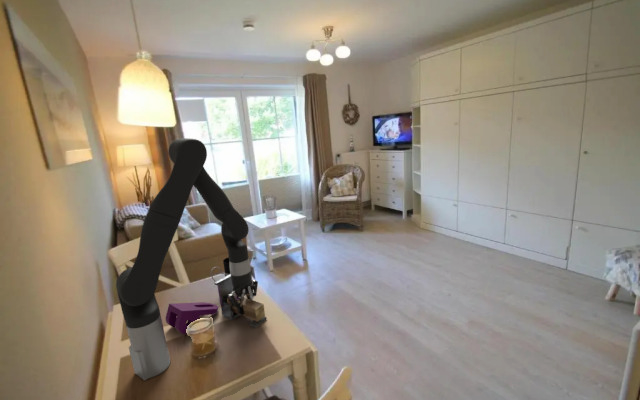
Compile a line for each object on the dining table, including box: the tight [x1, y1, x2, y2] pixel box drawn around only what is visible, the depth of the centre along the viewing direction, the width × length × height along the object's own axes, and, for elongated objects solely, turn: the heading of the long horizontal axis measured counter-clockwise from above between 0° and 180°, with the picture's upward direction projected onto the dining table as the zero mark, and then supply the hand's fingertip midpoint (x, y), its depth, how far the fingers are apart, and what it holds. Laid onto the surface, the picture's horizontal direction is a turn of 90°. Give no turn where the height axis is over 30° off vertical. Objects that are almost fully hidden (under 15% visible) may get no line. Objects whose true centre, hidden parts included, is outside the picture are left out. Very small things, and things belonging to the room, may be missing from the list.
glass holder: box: [210, 256, 230, 283], centre depth 140 cm, size 9×14×15 cm, turn 124°
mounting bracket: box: [165, 301, 219, 335], centre depth 120 cm, size 9×8×18 cm
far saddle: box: [249, 315, 268, 329], centre depth 117 cm, size 6×3×1 cm, turn 146°
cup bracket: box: [214, 274, 246, 321], centre depth 123 cm, size 9×6×15 cm
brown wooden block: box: [227, 294, 266, 322], centre depth 119 cm, size 4×16×5 cm, turn 56°
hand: (246, 310), depth 119 cm, fingers closed on brown wooden block, 4 cm apart
